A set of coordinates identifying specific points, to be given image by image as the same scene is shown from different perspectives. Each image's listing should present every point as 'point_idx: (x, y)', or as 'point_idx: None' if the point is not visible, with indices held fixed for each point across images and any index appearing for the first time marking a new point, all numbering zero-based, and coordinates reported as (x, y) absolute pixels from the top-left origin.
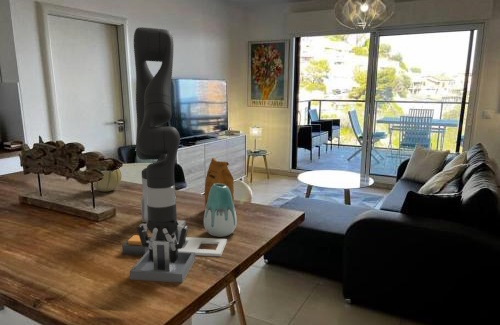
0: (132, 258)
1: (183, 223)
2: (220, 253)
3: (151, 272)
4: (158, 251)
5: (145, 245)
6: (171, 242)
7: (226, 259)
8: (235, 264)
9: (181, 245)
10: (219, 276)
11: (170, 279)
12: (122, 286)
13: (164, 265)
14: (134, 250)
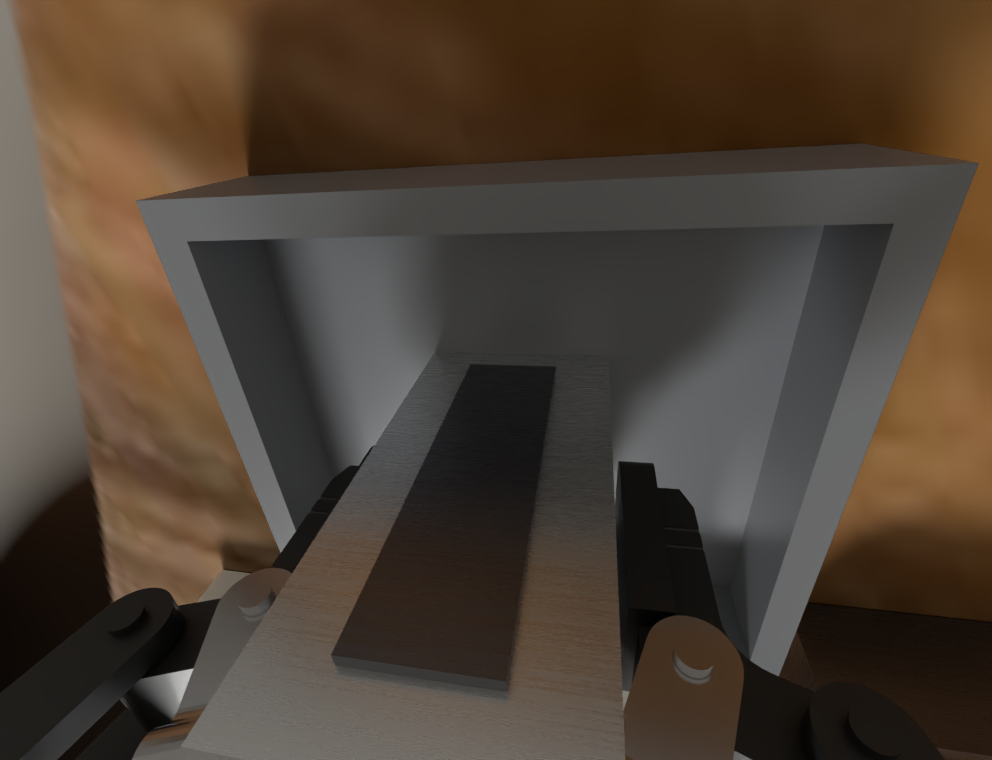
0: (921, 613)
1: None
2: None
3: (558, 182)
4: (495, 543)
5: (826, 713)
6: (179, 725)
7: (197, 575)
8: (112, 524)
9: (83, 642)
10: (95, 381)
11: (326, 181)
12: (978, 37)
13: (462, 393)
14: (943, 694)
